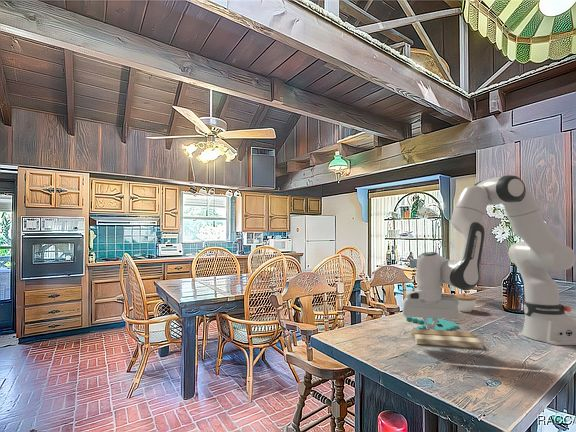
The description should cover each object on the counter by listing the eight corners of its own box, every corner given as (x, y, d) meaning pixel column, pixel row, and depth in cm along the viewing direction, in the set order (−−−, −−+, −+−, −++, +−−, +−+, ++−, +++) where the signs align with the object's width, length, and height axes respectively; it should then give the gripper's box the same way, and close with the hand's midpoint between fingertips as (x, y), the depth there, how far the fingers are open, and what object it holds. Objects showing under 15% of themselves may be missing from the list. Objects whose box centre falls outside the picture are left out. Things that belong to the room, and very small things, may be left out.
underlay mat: (473, 338, 129) (473, 336, 129) (484, 350, 116) (484, 349, 116) (411, 334, 135) (411, 333, 135) (415, 346, 122) (415, 344, 122)
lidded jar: (469, 314, 163) (468, 296, 163) (449, 310, 172) (449, 292, 173) (480, 311, 168) (479, 293, 169) (461, 307, 178) (460, 290, 178)
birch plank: (477, 343, 122) (477, 337, 122) (482, 348, 117) (482, 342, 117) (414, 339, 128) (414, 334, 128) (416, 343, 122) (416, 338, 123)
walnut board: (471, 337, 129) (471, 332, 129) (477, 342, 123) (476, 337, 123) (412, 333, 135) (412, 328, 135) (414, 338, 129) (414, 333, 129)
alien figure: (414, 334, 137) (463, 336, 133) (414, 329, 137) (463, 331, 133) (406, 320, 157) (449, 322, 153) (406, 316, 157) (449, 317, 153)
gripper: (456, 292, 124) (457, 328, 123) (401, 291, 129) (402, 324, 129) (460, 296, 118) (461, 333, 117) (403, 294, 123) (404, 329, 122)
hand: (430, 329), depth 123 cm, fingers closed
